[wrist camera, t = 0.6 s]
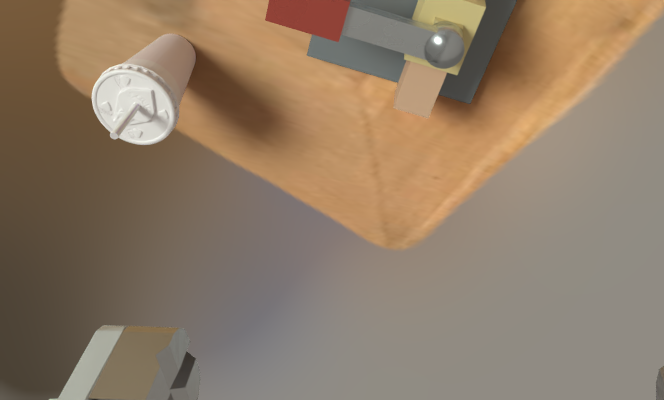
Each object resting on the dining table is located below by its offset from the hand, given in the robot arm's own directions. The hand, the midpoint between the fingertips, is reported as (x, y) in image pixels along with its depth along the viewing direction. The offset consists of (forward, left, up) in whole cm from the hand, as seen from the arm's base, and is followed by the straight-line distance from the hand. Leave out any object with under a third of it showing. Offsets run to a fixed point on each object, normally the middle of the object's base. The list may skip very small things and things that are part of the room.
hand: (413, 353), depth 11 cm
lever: (+8, -1, -34) cm, 35 cm away
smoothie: (+19, -16, -42) cm, 49 cm away
